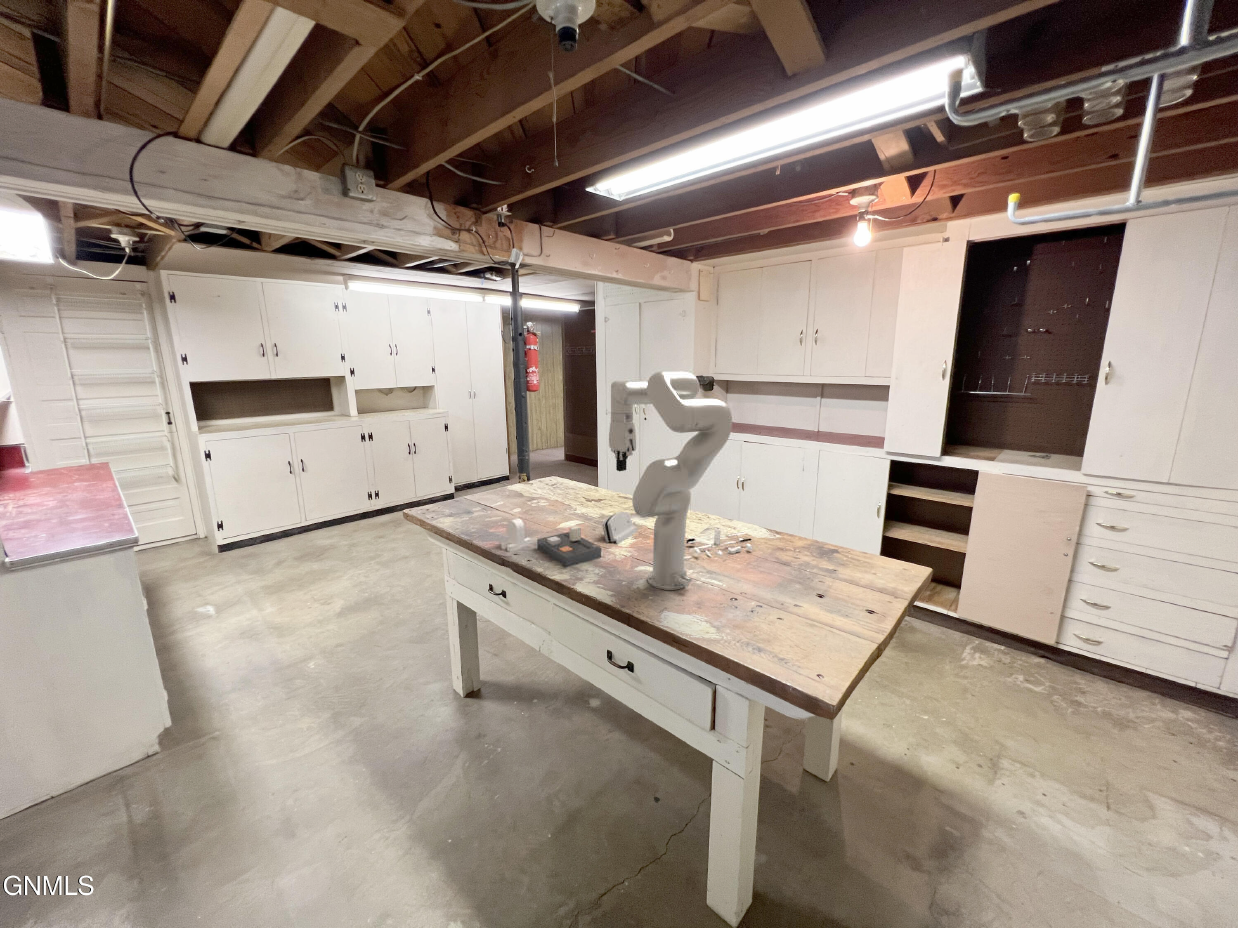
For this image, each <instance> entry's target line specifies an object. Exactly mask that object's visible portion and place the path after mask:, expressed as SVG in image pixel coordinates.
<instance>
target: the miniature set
mask: <svg viewBox="0 0 1238 928" xmlns="http://www.w3.org/2000/svg"><path fill="white" fill-rule="evenodd" d="M721 533H722V531H721V529H720V530H719V528H716V529H715V530H714V535H713V536H707V538H706V540H708V541H710V540H711V539H714V540H713V544H716V545H717V546H718V545H720V546H724V545H730V544H736V543H737V542H736V541H735V540H733V541H727V542H725V543H720V542H721ZM745 534H746V532H740V533H739V532H738V533H734V534H727V536H728V537H729V538H730V537H734V536H736V537H739V536H741V535H745ZM738 541H739V542H740V543H742V542H743V543H744V542H749V541H752V538H745V539H743V538H741V537H740V538H739V539H738ZM700 542H701V539H699V540H696V538H695V537H692V538H686V539H685V544H691V545H693V544H694V545H695V544H696V543H700ZM711 547H712V544H708V545H702V546H698V547H696V546H695V547H694V548H690V549H689V551H692V550H693V551H694V552H695V553H696V554H697V555H698V556H699V555H701V551H700V549H706V548H711ZM745 548H746V549H747V551H753V548H754V545H751V543H746V544H745ZM727 550H728V551H727V554H731V555H732V554H737V553H741V552H742V546H736V547H728V548H727ZM705 553H706V554H707V555H708V557H712V554H711V553H710V552H709V551H708V550H707V549H706V550H705ZM715 553H716V554H717V555H718V556H723V552H722V551H721V549H720V550H719V551H718V550H716V551H715ZM690 559H692V556H691V555H690V556H684V560H690Z"/></svg>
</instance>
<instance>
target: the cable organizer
mask: <svg viewBox="0 0 1238 928" xmlns="http://www.w3.org/2000/svg"><path fill="white" fill-rule="evenodd" d="M506 530H507V531H506V532H507V540H505V541H503V542H501V543H500V549H502V550H506V551H507V552H513V551H516V550H518V549H521V548H523V547H526V546H529V545H531V538H530V537H526V535H525V534H526V533H525V524H524V521H523V520H522V519H521V518H515V519H512V520H509V521H508V522H507V525H506Z"/></svg>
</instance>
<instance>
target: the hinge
mask: <svg viewBox="0 0 1238 928" xmlns="http://www.w3.org/2000/svg"><path fill="white" fill-rule="evenodd" d="M602 530H603V534H604V538H605V542H606V543H610V542H615V544H616V545H619V544H621V543H622V542H624V541H625V540H627V539H628V538H630V537H631V536H633V535H634V534H636V533H637V532H638V528H637V527H636V526H635V525H634V524H633V522H632V519H631V516H630V513H629V512H624V511H623V512H622V511H620V512H615V513H613V514H612V515H610V516H608V517H606V518H605V520H604V521H603V523H602Z"/></svg>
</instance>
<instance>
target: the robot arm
mask: <svg viewBox="0 0 1238 928" xmlns="http://www.w3.org/2000/svg"><path fill="white" fill-rule="evenodd" d="M700 387H701V386H700V381H699V379H698V378H697V377H696V376H695V374H693V373H691V372H687V371H657V372H655V373H653V374H652V375H651V376H650V377H649V378H648V380H634V381H633V380H631V381H630V380H629V381H628V380H616V381H615V380H614V381H613V382H611V385H610V423H609V432H608V447H609V448H610V452H611V453H613V454H614V458H615V459H616V461H615V462H616V463H615V464H616V468H615V469H616V471H617V472H623V471H627V460H629V459H628V458H629V457H630V456H633V455H634V451H636V450H637V434H636V433H637V432H636V426H635V422H634V406H636V405H652V406H653V407H654V409H655V411H656V412H657V413H658V415H659V417H660V418H661V419H662V421H663V422H664V424H665V425H666V427H668V428H669V430H671V431H672V432H675V433H679V434H681V433H683V434H684V433H695V432H696V434H695V435H694V436H692V437H691V438H689V440H688V441H686V443H685V444H684V446H683V447H682V449H681V451H680V452H679V453H678V455H676V456H674V457H670V458H662V459H661V458H660V459H656V460H654V461H652V462H651V463H649V464H648V465H647V466H646V468H645V470H644V471H643V473H642V476H640V478H639V481H638V483H637V484H636V486H635V489H634V492H633V495H632V501H631V502H632V508H633V511H634V512H635V513H636V514H637V515H638V516H639V517H641V518H654V517H656V518H655V522H654V523H653V524H654V525H653V542H652V543H653V545H652V546H653V547H652V548H653V549H652V551H653V552H652V571H651V572H649V573H648V575H647V582H648V584H650V585H651V586H652V587H654V588H655V589H660V590H665V591H673V590H674V591H675V590H680V589H683V588H686V589H687V588H688V587H689V586H690V584H691V582H692V581H693V580H692V578H691V577H689V576H688V575H687V570H686V569H685V559H684V557H685V554H686V552H685V549H686V531H687V530H686V529H687V528H686V527H687V519H688V518H687V517H688V513H689V508H690V504H691V491H690V490H692V489H694V488H695V487H696V486H697V485H698V483H699V482H700V480H701V479H702V477H703V476H704V475H705V473H706V471H707V470H708V468H709V467H710V466H711V464H712V462H713V461H714V460H715V458H716V457H717V455H718V454H719V453H720V451H722V449H723V448H724V447H725V445H726V443H727V442H728V440H729V438H730V435H731V432H732V426H733V416H732V411H731V409H730V407H729V405H728V404H727V403H726V402H724V401H722V400H720V399H718V398H696V397H697V395H698V393H699V392H700V389H701V388H700Z"/></svg>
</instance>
